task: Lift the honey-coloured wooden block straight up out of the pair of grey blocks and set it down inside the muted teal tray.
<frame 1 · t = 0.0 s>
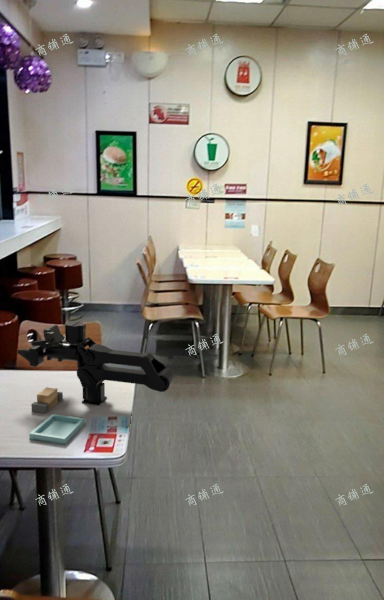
hand: (25, 347, 168), 16 cm above the table, tool horizontal, fingers open, 9 cm apart
teal tray: (58, 431, 145), on the table
wooden block: (47, 405, 162), on the table
pair of grey blocks: (47, 405, 162), on the table
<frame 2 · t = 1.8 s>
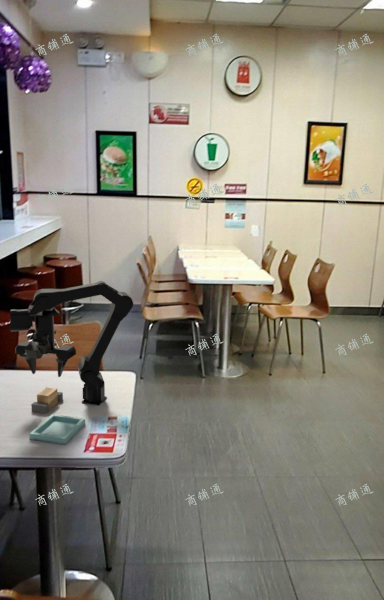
hand: (46, 375, 159), 11 cm above the table, tool pointing down, fingers open, 9 cm apart
nothing on the table moved.
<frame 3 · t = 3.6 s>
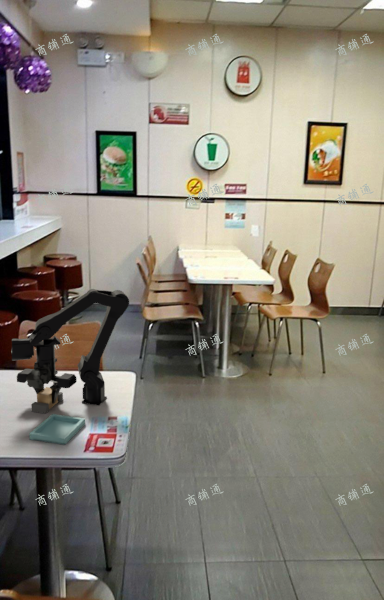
hand: (47, 402, 161), 1 cm above the table, tool pointing down, fingers closed on wooden block, 4 cm apart
wooden block: (47, 405, 162), on the table, touching gripper
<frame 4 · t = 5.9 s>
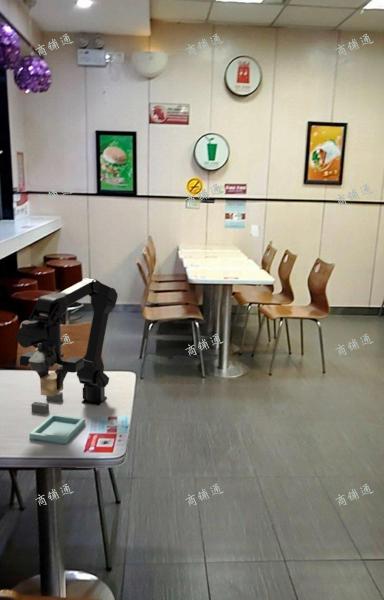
hand: (52, 388, 147), 11 cm above the table, tool pointing down, fingers closed on wooden block, 4 cm apart
wooden block: (52, 391, 147), point 10 cm above the table, touching gripper
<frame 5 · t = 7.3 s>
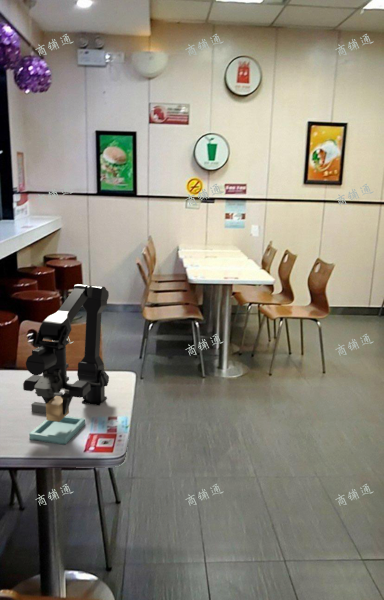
hand: (57, 413, 143), 6 cm above the table, tool pointing down, fingers closed on wooden block, 4 cm apart
wooden block: (57, 416, 144), point 5 cm above the table, touching gripper
when the fingers open (3 cm above the table, at t = 8.5 s): wooden block drops 1 cm, resting on teal tray.
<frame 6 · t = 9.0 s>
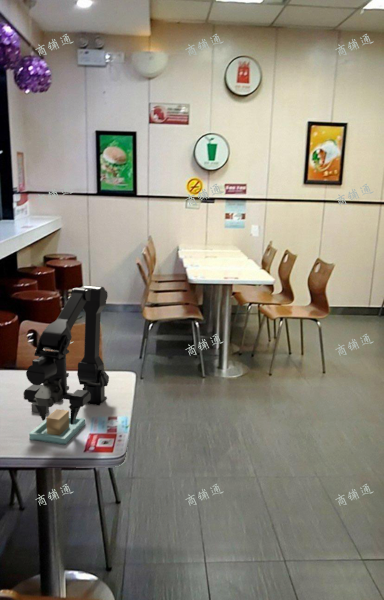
hand: (58, 422, 144), 3 cm above the table, tool pointing down, fingers open, 9 cm apart
wooden block: (58, 429, 144), resting on teal tray
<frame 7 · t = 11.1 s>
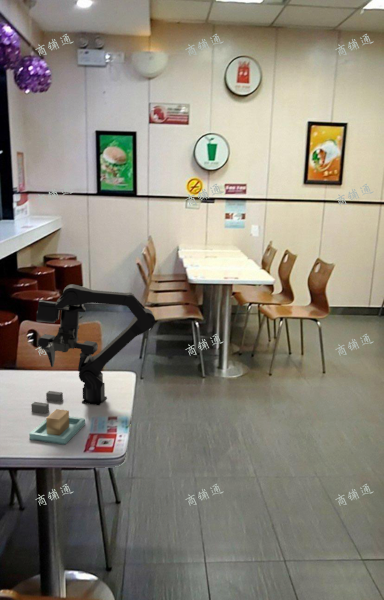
hand: (65, 368, 162), 12 cm above the table, tool pointing down, fingers open, 9 cm apart
nothing on the table moved.
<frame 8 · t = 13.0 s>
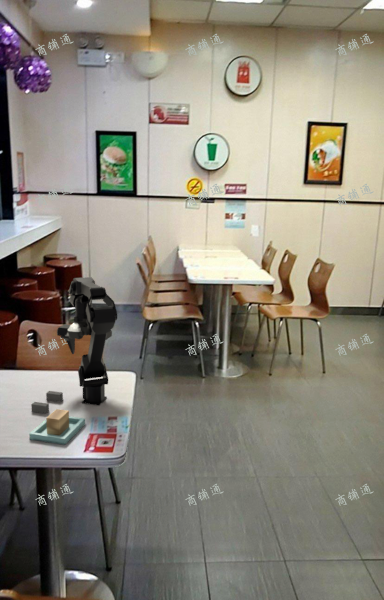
hand: (84, 355, 175), 12 cm above the table, tool pointing down, fingers open, 9 cm apart
nothing on the table moved.
at the end: wooden block 0.0 cm off-centre on the teal tray, point 0.5 cm above the teal tray's base; the gripper is holding nothing; wooden block tilted 0° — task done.
